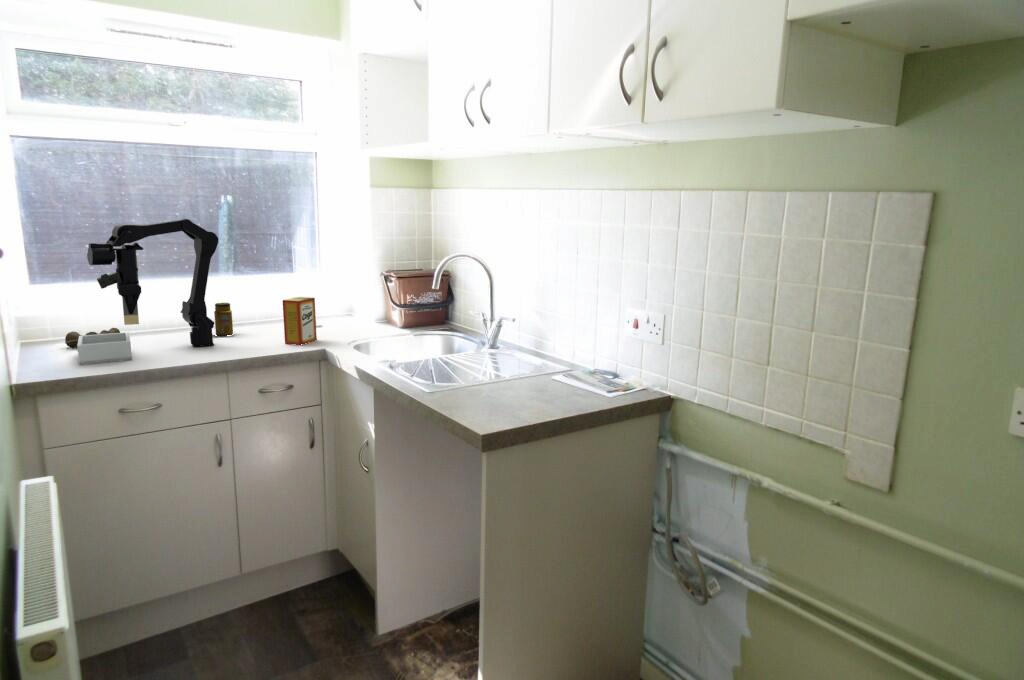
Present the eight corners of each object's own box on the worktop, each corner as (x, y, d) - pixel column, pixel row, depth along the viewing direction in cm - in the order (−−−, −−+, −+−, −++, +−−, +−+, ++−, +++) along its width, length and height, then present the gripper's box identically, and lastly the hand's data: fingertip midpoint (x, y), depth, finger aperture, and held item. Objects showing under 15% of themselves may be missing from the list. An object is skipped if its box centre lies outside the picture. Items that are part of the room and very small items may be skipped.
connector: (138, 322, 220) (136, 295, 218) (138, 324, 216) (136, 296, 215) (124, 323, 218) (122, 295, 216) (124, 324, 214) (122, 296, 213)
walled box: (130, 349, 226) (128, 332, 225) (132, 360, 211) (130, 341, 209) (81, 353, 219) (79, 335, 218) (79, 365, 204) (77, 345, 202)
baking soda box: (300, 345, 235) (298, 300, 232) (285, 344, 237) (282, 299, 234) (316, 340, 244) (314, 296, 241) (301, 339, 246) (299, 295, 243)
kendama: (128, 343, 240) (77, 352, 221) (107, 341, 243) (55, 351, 224) (126, 326, 239) (75, 334, 220) (105, 325, 242) (53, 333, 223)
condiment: (236, 333, 257) (233, 301, 255) (232, 337, 249) (229, 305, 247) (215, 333, 256) (213, 302, 253) (211, 337, 247) (208, 305, 245)
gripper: (97, 262, 217) (101, 310, 220) (97, 267, 202) (101, 318, 204) (136, 262, 223) (140, 309, 226) (139, 266, 207) (143, 316, 210)
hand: (130, 313), depth 216 cm, fingers closed on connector, 4 cm apart
